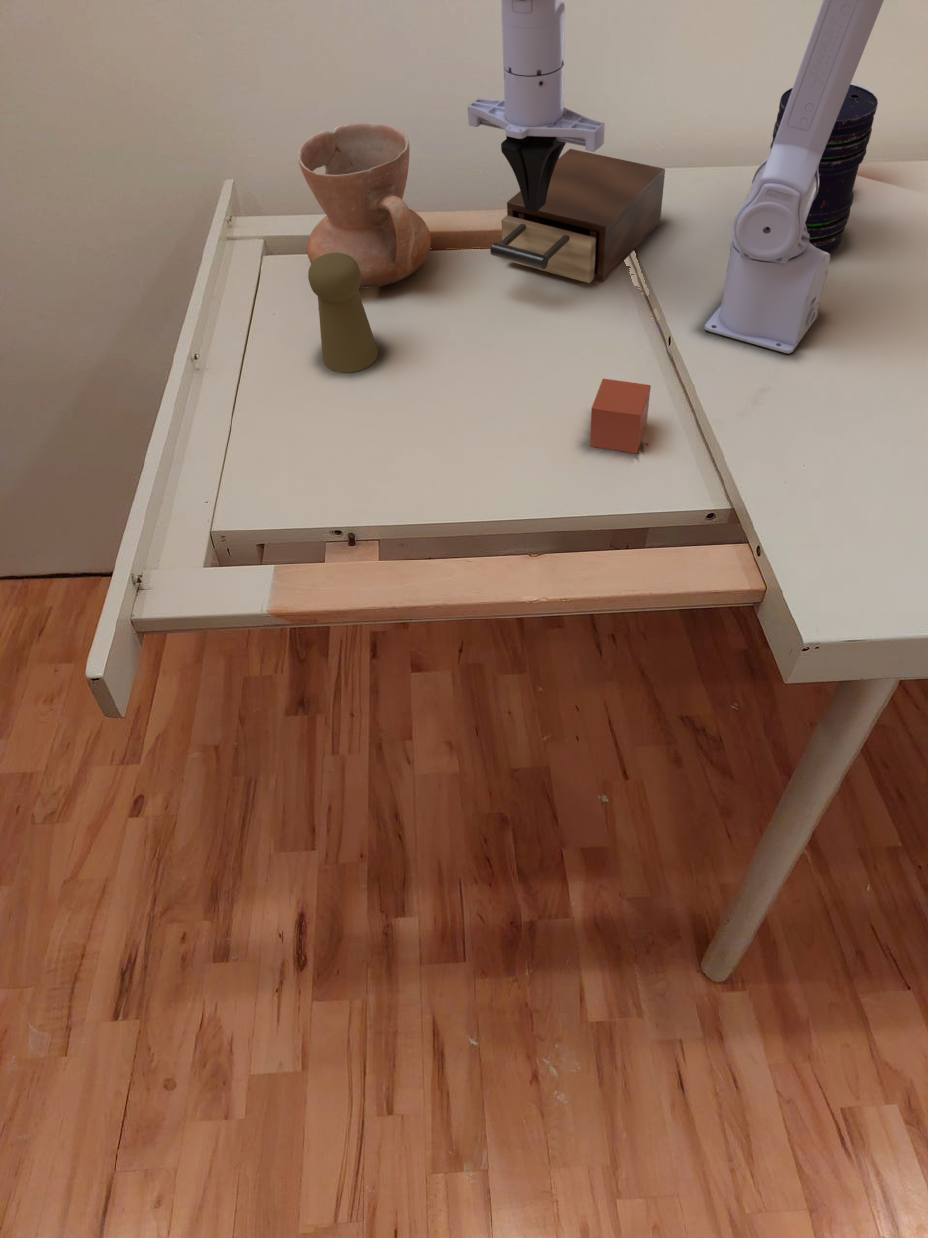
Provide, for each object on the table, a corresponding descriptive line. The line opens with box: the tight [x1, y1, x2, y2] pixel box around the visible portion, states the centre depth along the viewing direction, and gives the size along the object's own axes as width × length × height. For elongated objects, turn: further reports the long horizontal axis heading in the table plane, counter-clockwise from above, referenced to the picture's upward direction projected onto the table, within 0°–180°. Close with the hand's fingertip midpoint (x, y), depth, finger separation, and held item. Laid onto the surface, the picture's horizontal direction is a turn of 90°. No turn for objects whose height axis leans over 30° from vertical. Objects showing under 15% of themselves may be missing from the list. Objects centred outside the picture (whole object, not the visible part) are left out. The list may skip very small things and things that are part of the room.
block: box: [589, 378, 652, 454], centre depth 84 cm, size 4×4×4 cm
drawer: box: [489, 212, 599, 284], centre depth 102 cm, size 20×11×5 cm, turn 146°
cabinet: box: [506, 148, 666, 283], centre depth 105 cm, size 15×13×7 cm
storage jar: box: [769, 84, 879, 255], centre depth 99 cm, size 10×10×15 cm
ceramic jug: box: [297, 122, 432, 289], centre depth 102 cm, size 18×14×14 cm
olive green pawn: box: [307, 253, 379, 374], centre depth 92 cm, size 6×6×11 cm
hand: (535, 206), depth 95 cm, fingers closed
